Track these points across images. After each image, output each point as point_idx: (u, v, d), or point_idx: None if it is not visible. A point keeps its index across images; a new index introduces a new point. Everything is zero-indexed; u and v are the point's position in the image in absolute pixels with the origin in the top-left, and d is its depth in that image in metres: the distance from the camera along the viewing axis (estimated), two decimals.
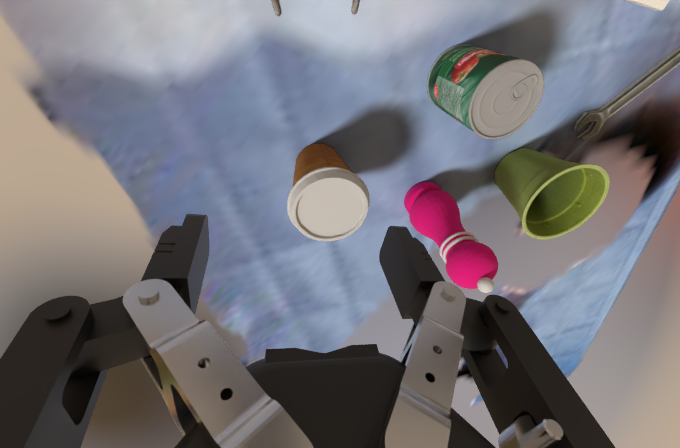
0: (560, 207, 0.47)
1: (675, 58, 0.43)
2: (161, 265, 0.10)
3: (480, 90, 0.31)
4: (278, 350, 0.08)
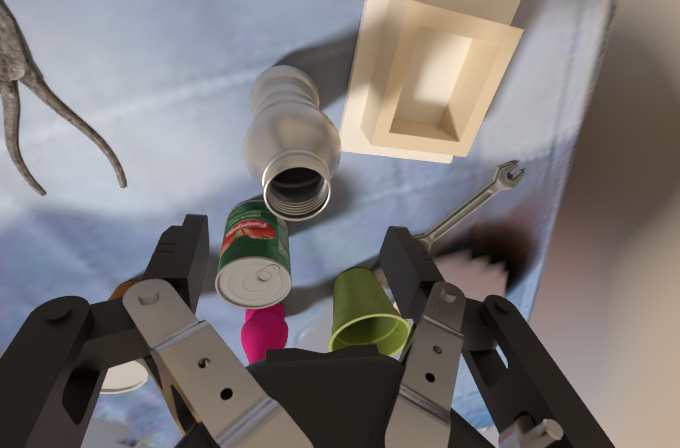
0: (386, 329, 0.48)
1: (483, 194, 0.44)
2: (162, 265, 0.10)
3: (221, 279, 0.32)
4: (278, 350, 0.08)
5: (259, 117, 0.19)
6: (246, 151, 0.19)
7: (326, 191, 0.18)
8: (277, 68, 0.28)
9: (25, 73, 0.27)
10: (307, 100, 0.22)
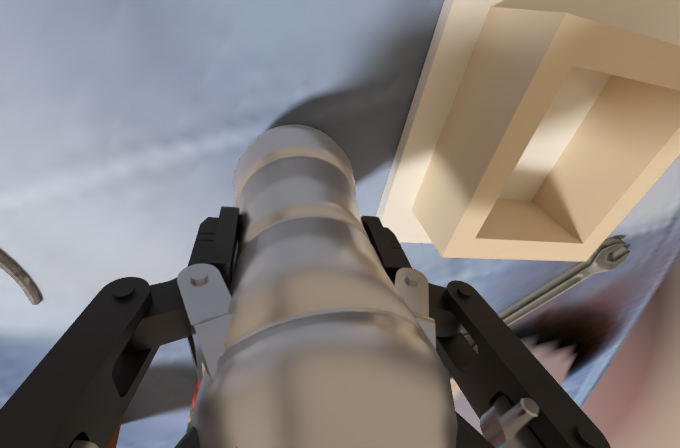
0: None
1: (571, 280, 0.31)
2: (204, 252, 0.11)
3: None
4: None
5: (230, 388, 0.06)
6: None
7: None
8: (282, 137, 0.15)
9: None
10: (355, 253, 0.09)
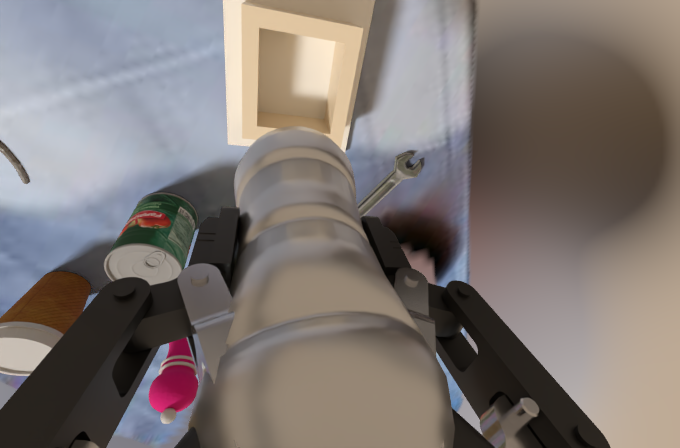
0: None
1: (387, 184, 0.47)
2: (204, 252, 0.11)
3: (111, 265, 0.35)
4: None
5: (229, 389, 0.06)
6: None
7: None
8: (283, 139, 0.15)
9: None
10: (354, 255, 0.09)
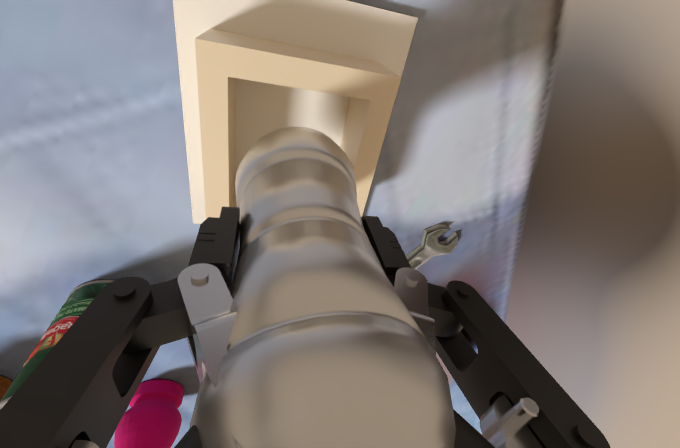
0: None
1: (411, 262, 0.35)
2: (204, 252, 0.11)
3: None
4: None
5: (230, 389, 0.06)
6: None
7: None
8: (284, 139, 0.15)
9: None
10: (355, 256, 0.09)
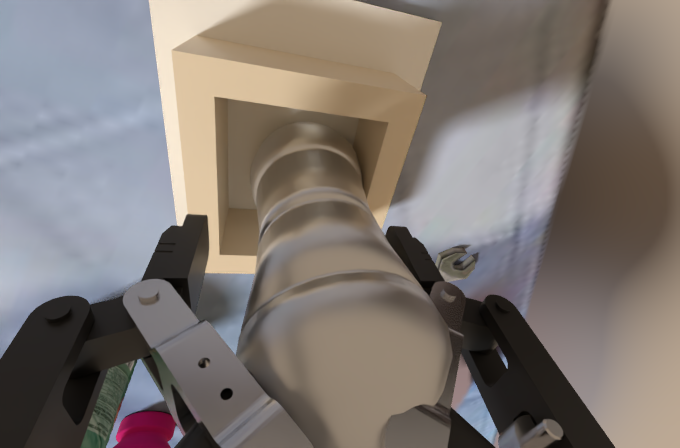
0: None
1: None
2: (161, 265, 0.10)
3: None
4: None
5: (270, 330, 0.08)
6: None
7: None
8: (295, 132, 0.16)
9: None
10: (366, 230, 0.11)
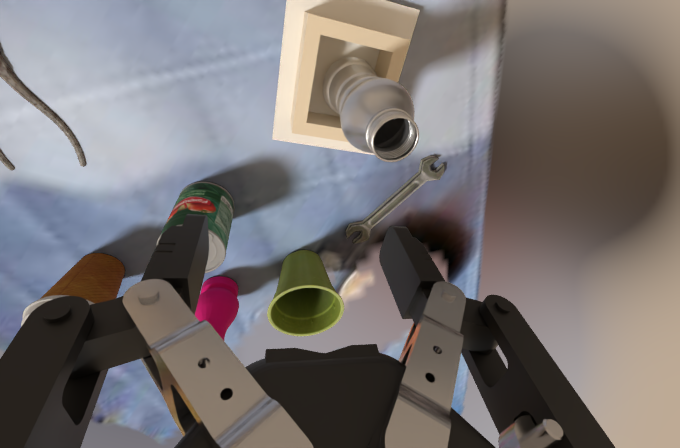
0: (326, 305, 0.53)
1: (411, 184, 0.50)
2: (161, 265, 0.10)
3: None
4: (279, 350, 0.08)
5: (358, 88, 0.26)
6: (347, 114, 0.26)
7: (412, 140, 0.24)
8: (348, 59, 0.35)
9: None
10: None
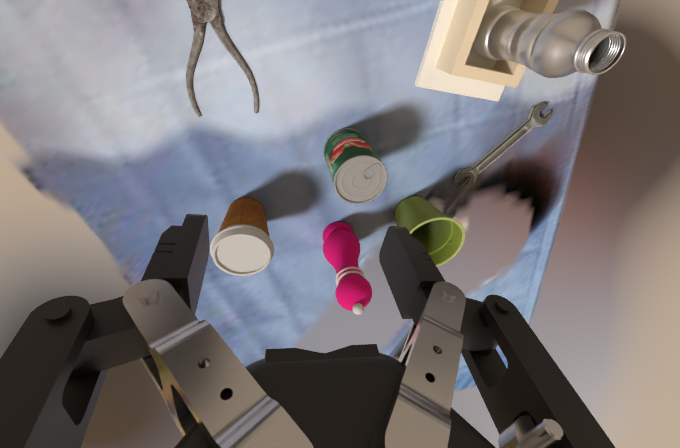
0: (440, 243, 0.60)
1: (520, 130, 0.56)
2: (161, 265, 0.10)
3: (339, 174, 0.44)
4: (279, 350, 0.08)
5: (559, 18, 0.31)
6: (548, 40, 0.32)
7: (613, 56, 0.30)
8: (506, 6, 0.40)
9: (215, 17, 0.39)
10: None
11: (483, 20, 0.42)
